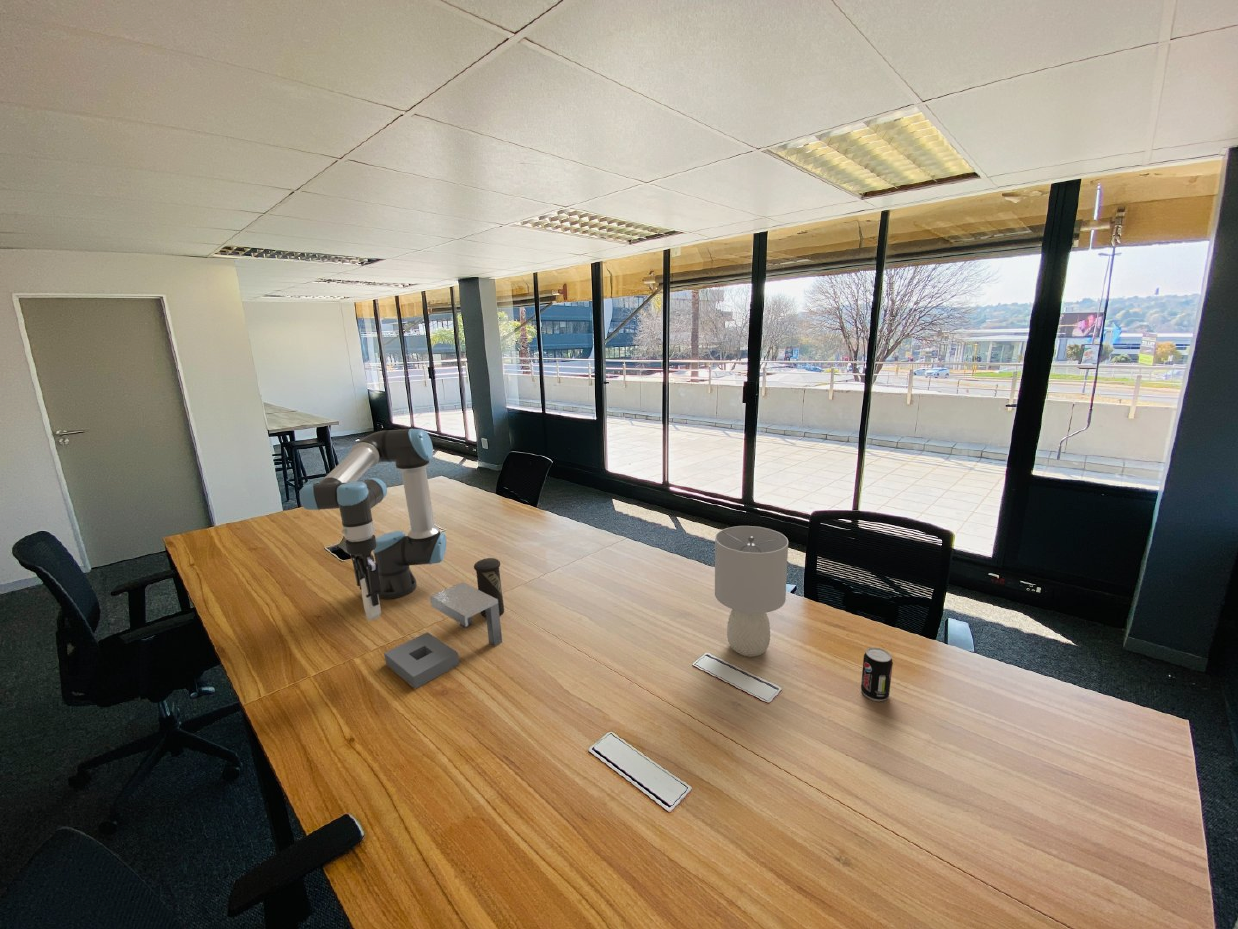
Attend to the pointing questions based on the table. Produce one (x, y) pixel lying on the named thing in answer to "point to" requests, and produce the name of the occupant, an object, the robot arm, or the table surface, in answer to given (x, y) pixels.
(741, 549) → the lamp
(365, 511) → the robot arm
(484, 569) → the container
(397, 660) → the socket block
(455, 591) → the grey legged flat piece
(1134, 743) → the table surface
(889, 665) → the beverage can
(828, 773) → the table surface
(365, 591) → the peg
